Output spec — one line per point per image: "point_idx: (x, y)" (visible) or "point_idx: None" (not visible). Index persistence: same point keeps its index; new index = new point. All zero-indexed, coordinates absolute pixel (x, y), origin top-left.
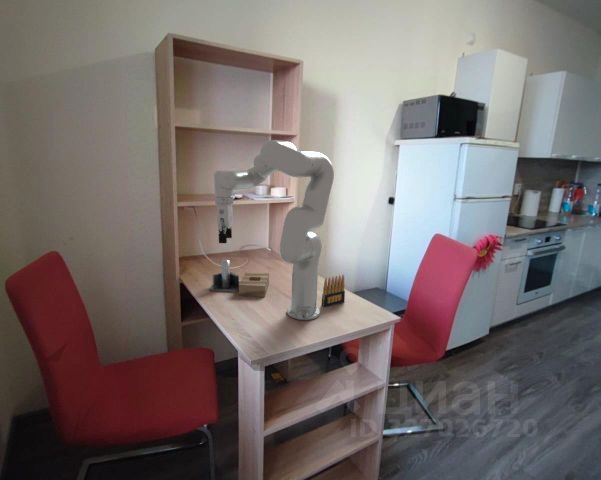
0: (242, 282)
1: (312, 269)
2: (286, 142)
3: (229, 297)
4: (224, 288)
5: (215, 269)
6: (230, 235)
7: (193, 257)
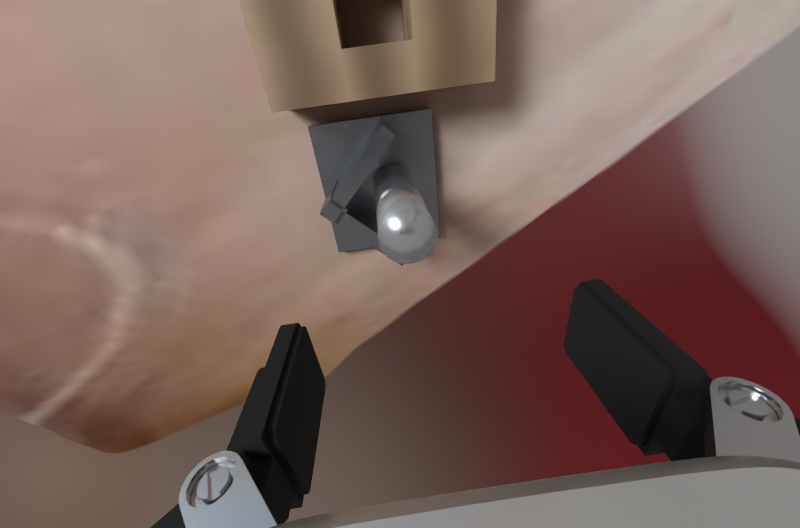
0: (453, 71)
1: None
2: None
3: (494, 125)
4: (422, 180)
5: (184, 312)
6: (300, 354)
7: (102, 433)
